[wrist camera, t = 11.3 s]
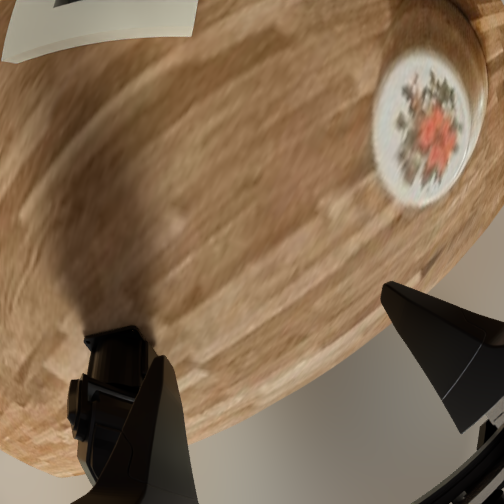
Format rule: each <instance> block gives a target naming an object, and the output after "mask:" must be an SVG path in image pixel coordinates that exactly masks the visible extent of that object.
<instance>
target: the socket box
mask: <svg viewBox="0 0 504 504" xmlns="http://www.w3.org/2000/svg"><path fill="white" fill-rule="evenodd" d="M197 3H198V0H81V1H77V2H73V3H72V2H70V1H69V0H17V1H16V4H15V7H14V10H13V13H12V16H11V19H10V23H9V27H8V31H7V35H6V39H5V43H4V48H3V53H2V59H1V61H4V62H10V63H16V64H18V63H21V62H23V61H26V60H29V59H32V58H35V57H39V56H42V55H45V54H49V53H53V52H56V51H60V50H64V49H69V48H73V47H78V46H83V45H88V44H94V43H100V42H106V41H114V40H122V39H133V38H147V37H191V36H192V31H193V27H194V21H195V15H196V9H197Z"/></svg>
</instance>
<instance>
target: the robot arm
mask: <svg viewBox="0 0 504 504" xmlns="http://www.w3.org/2000/svg"><path fill="white" fill-rule="evenodd" d="M380 299H381V303H382V305H383V307H384V309H385V311H386V312H387V314H388V316H389V318H390V319H391V321H392V323H393V325H394V327H395V328H396V330H397V332H398V333H399V335H400V336H401V338H402V339H403V341H404V342H405V343H406V344H407V346H408V348H409V349H410V351H411V352H412V354H413V355H414V357H415V359H416V360H417V362H418V363H419V365H420V366H421V368H422V369H423V371H424V372H425V374H426V376H427V377H428V379H429V380H430V382H431V384H432V385H433V387H434V388H435V390H436V392H437V393H438V395H439V397H440V398H441V400H442V402H443V404H444V406H445V407H446V409H447V411H448V412H449V414H450V416H451V418H452V419H453V421H454V423H455V425H456V427H457V428H458V430H459V432H460V433H461V434H463V433H464V432H465V431H466V430H467V429H469V428H470V427H471V426H472V425H474V424H475V423H476V422H477V421H478V420H479V419H480V418H482V417H483V416H484V415H485V414H486V416H487V417H488V419H487V420H486V421H485V422H484V423H483V424H482V425H481V426H480V430H479V437H478V444H477V452H476V453H475V454H473V456H471V457H470V458H469V459H468V460H467V461H466V462H465V463H464V464H463V465H461V466H460V467H459V468H458V469H457V470H456V471H454V472H453V473H452V474H451V475H450V476H448V477H447V478H446V479H445V480H443V481H442V482H441V483H440V484H438V485H437V486H436V487H434V488H433V489H432V490H430V491H429V492H427V493H426V494H425V495H423V496H422V497H420V498H419V499H417V500H416V501H414V502H413V503H411V504H449V503H450V502H452V504H504V492H503V491H502V488H504V322H501V321H498V320H495V319H491V318H488V317H485V316H482V315H479V314H476V313H473V312H471V311H468V310H466V309H463V308H460V307H458V306H456V305H453V304H450V303H448V302H446V301H443V300H441V299H438V298H435V297H433V296H430V295H428V294H425V293H423V292H420V291H417V290H415V289H412V288H410V287H407V286H404V285H402V284H399V283H396V282H394V281H389V282H387V283H385V284H384V285H383V287H382V292H381V298H380ZM132 330H134V331H132ZM84 343H85V345H86V346H87V347H88V348H89V350H90V351H91V355H90V360H89V366H88V372H87V375H86V374H84V373H83V374H82V376H81V378H80V379H77V380H71V382H70V386H69V392H68V400H67V418H68V420H69V421H70V423H71V427H72V434H73V438H74V439H77V440H78V450H77V457H78V460H79V462H80V464H81V466H82V468H83V470H84V471H85V473H86V475H87V477H88V479H89V481H90V483H91V484H92V486H93V488H92V489H91V490H90V491H89V492H88V493H87V494H86V495H84V496H83V497H81V498H79V499H78V500H76V501H74V502H72V503H71V504H199V503H198V500H197V495H196V489H195V485H194V479H193V474H192V468H191V463H190V457H189V450H188V444H187V437H186V430H185V422H184V414H183V407H182V403H181V398H180V394H179V390H178V385H177V381H176V376H175V371H174V369H173V367H172V365H171V364H170V362H169V360H168V359H167V357H166V356H165V355H161V356H157V355H156V353H155V352H154V350H153V348H152V347H151V345H150V344H149V342H147V341H146V340H145V339H144V337H143V336H142V334H141V332H140V331H139V329H138V328H137V327H136V326H129V327H125V328H120V329H116V330H112V331H108V332H103V333H99V334H94V335H90V336H86V337H85V338H84Z"/></svg>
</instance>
